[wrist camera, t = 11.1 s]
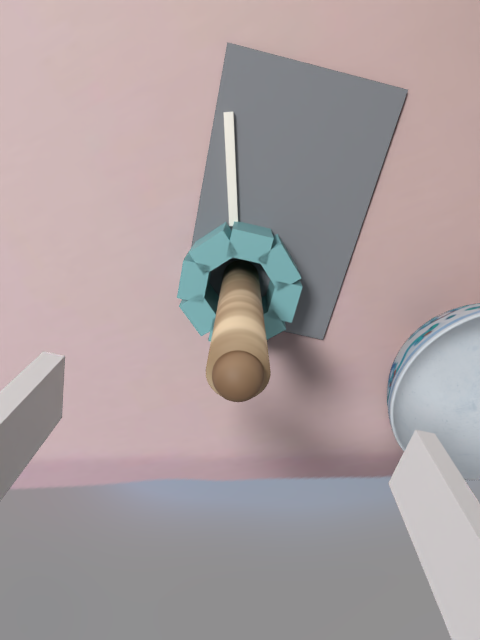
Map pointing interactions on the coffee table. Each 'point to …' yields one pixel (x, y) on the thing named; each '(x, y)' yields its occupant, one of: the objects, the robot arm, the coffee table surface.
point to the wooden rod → (239, 337)
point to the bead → (246, 246)
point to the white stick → (231, 166)
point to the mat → (298, 167)
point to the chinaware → (441, 386)
